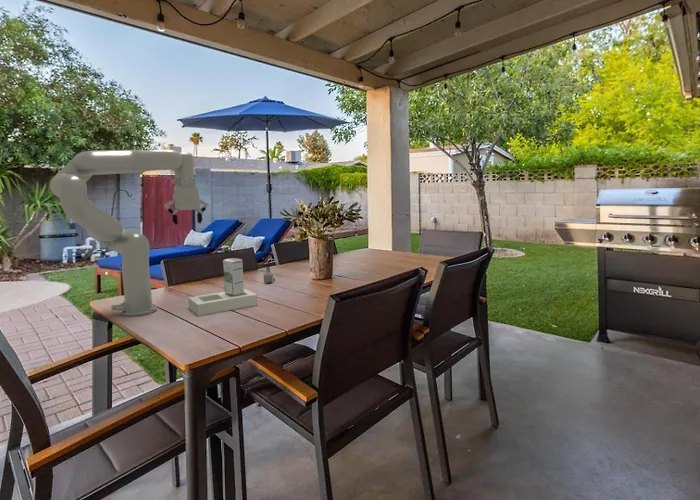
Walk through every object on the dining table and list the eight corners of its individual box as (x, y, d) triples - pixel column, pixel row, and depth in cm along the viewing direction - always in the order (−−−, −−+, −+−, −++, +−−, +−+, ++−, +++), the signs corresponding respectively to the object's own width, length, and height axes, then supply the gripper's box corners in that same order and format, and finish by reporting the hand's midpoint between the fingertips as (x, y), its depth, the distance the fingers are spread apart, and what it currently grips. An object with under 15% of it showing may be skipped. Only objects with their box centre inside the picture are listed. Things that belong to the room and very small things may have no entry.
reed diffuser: (269, 285, 207) (268, 245, 203) (256, 284, 208) (255, 245, 205) (277, 280, 216) (276, 242, 213) (265, 280, 218) (263, 242, 215)
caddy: (198, 316, 158) (197, 304, 157) (188, 308, 168) (188, 296, 168) (257, 305, 172) (256, 294, 171) (245, 298, 182) (244, 288, 182)
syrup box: (244, 292, 173) (243, 258, 171) (233, 296, 168) (231, 260, 166) (235, 291, 176) (233, 257, 174) (224, 294, 172) (222, 259, 169)
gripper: (165, 182, 165) (168, 225, 168) (208, 182, 175) (211, 223, 178) (160, 182, 171) (163, 224, 174) (203, 182, 181) (205, 221, 184)
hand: (187, 223), depth 176 cm, fingers open, 9 cm apart
